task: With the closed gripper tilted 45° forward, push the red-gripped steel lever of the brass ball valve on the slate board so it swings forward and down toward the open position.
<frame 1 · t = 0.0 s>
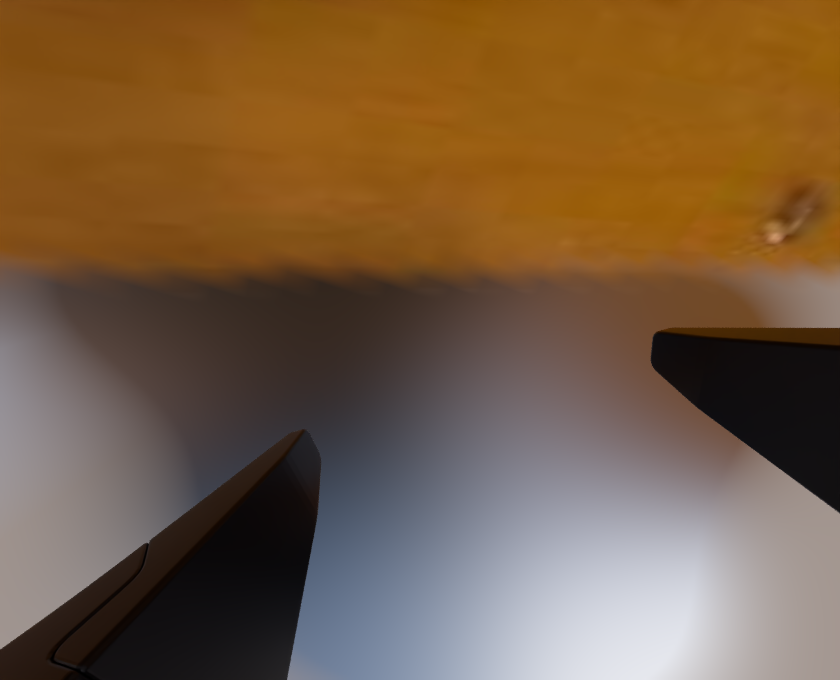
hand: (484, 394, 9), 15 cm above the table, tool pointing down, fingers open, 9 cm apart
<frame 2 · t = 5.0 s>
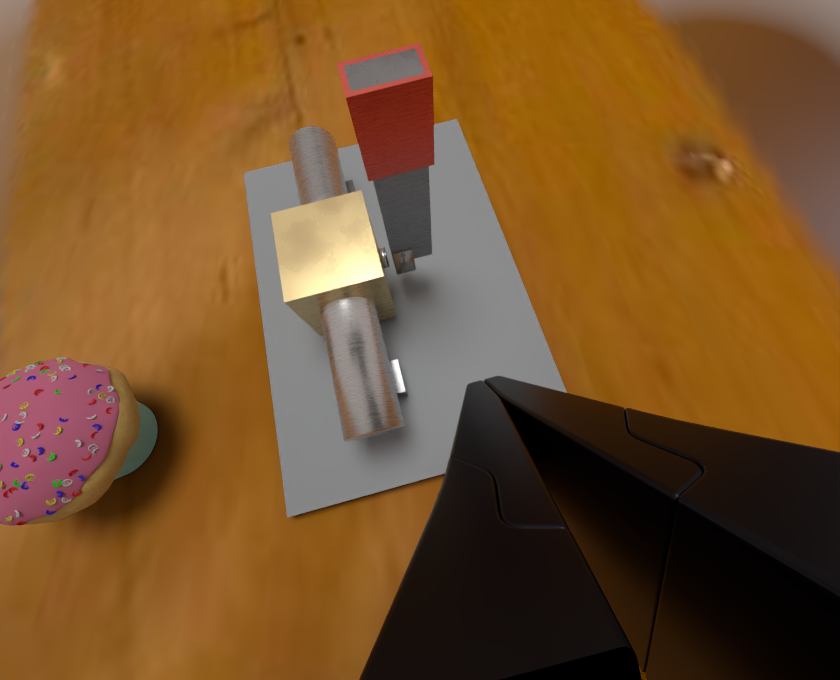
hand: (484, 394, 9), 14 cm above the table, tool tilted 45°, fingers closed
valve lever: (402, 197, 16), point 9 cm above the table, hinge at 0.0°
cupcake: (128, 437, 23), on the table
ball valve: (343, 270, 21), on the mounting board, point 4 cm above the table
mounting board: (355, 297, 25), on the table
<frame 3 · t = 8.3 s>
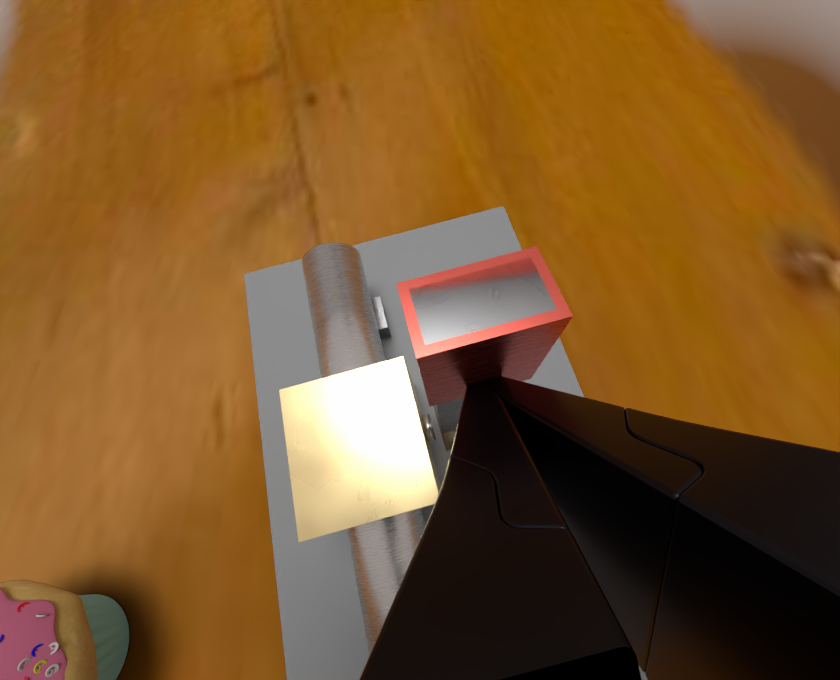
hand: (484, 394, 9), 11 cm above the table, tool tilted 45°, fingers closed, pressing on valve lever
valve lever: (467, 389, 11), point 9 cm above the table, hinge at 6.5°, touching gripper
cupcake: (91, 645, 17), on the table
ball valve: (374, 443, 16), on the mounting board, point 4 cm above the table
mounting board: (383, 445, 19), on the table
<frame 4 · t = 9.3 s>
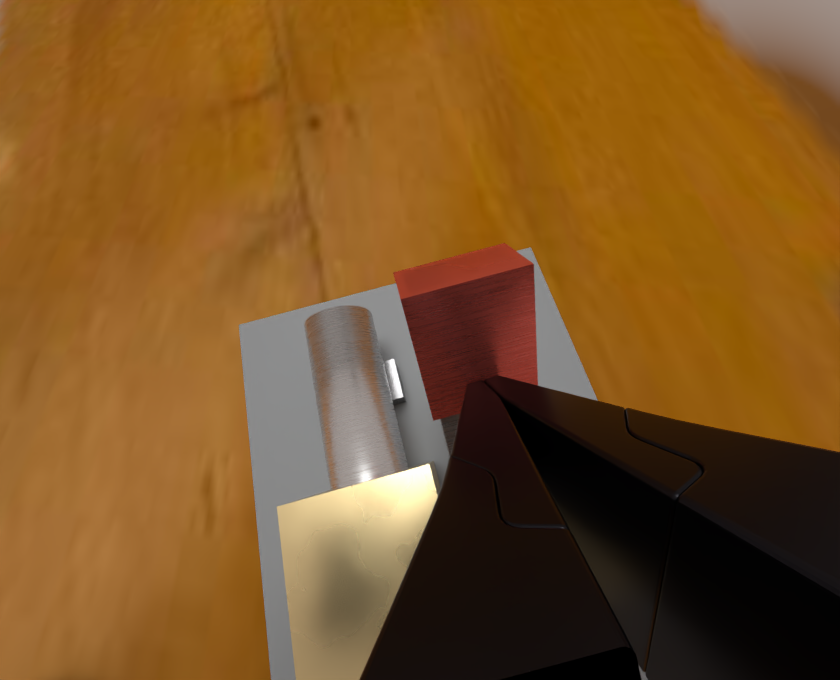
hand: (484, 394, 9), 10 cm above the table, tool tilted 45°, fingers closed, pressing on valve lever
valve lever: (485, 443, 11), point 8 cm above the table, hinge at 39.4°, touching gripper
ball valve: (391, 552, 13), on the mounting board, point 4 cm above the table
mounting board: (398, 532, 17), on the table
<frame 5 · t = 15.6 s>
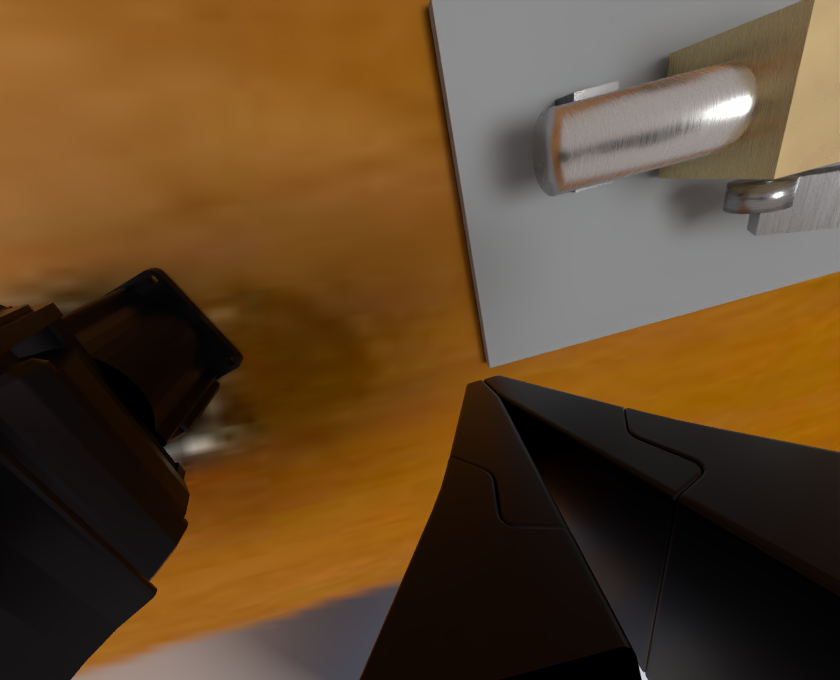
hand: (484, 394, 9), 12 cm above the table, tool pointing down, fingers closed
ball valve: (774, 100, 14), on the mounting board, point 4 cm above the table
mounting board: (696, 110, 18), on the table
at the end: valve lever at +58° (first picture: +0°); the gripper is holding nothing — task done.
